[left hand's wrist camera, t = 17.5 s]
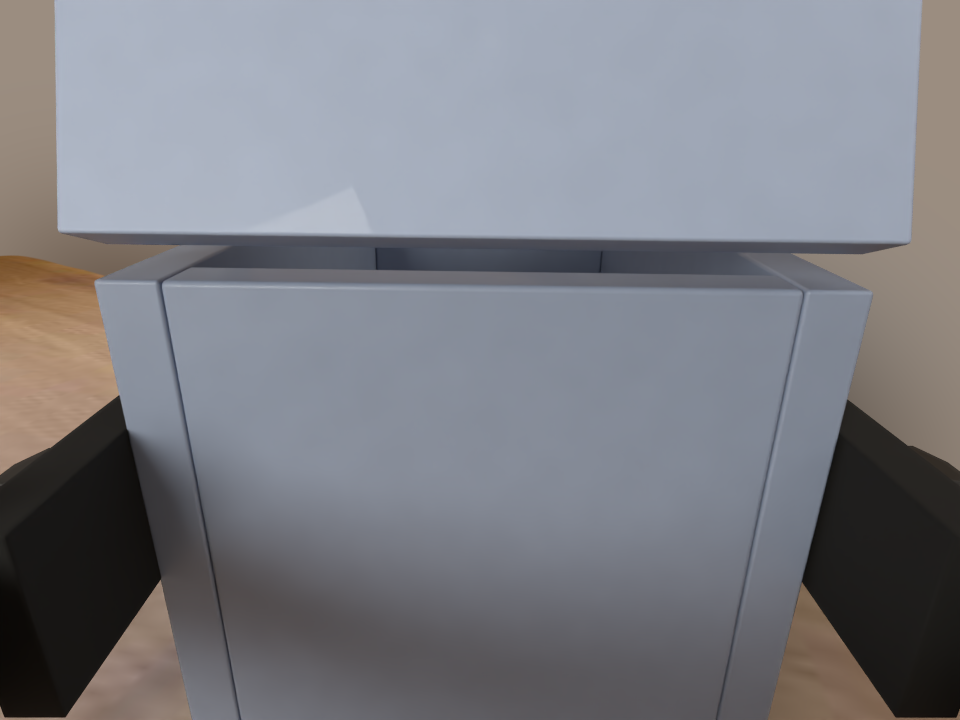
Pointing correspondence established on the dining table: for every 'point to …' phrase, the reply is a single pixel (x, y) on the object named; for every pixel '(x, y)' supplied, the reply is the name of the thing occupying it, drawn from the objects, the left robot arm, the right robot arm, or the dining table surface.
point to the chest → (481, 474)
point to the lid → (489, 123)
